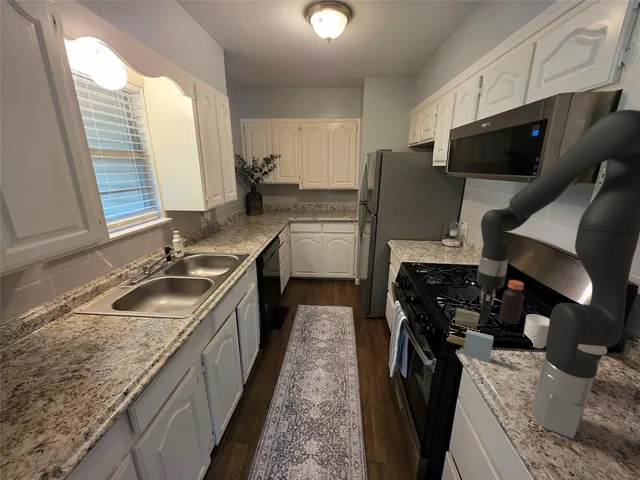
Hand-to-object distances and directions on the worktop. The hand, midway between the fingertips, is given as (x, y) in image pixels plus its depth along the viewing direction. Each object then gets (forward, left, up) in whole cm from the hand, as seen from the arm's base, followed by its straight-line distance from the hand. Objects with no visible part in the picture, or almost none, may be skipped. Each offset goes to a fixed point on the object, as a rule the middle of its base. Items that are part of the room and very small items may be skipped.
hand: (483, 315), depth 89 cm
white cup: (+20, -18, -16) cm, 31 cm away
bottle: (+28, -10, -16) cm, 34 cm away
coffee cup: (+4, -26, -16) cm, 31 cm away
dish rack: (+11, +5, -16) cm, 20 cm away
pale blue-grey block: (0, 0, -16) cm, 16 cm away
